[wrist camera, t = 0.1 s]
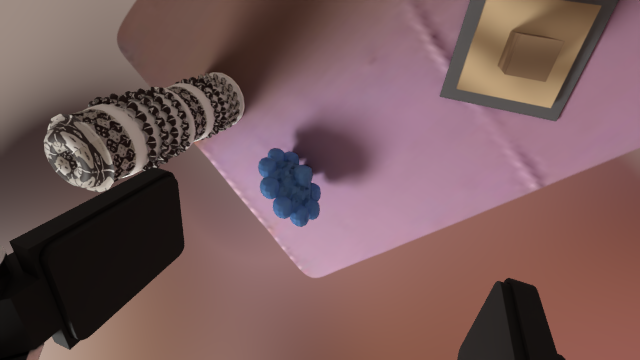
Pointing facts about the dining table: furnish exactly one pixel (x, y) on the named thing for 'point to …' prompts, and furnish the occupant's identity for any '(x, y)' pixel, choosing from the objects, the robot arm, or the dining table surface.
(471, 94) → the dark gray mat
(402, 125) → the dining table surface
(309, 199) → the blue flower shape
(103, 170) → the decorative candle
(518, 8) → the oak lid
